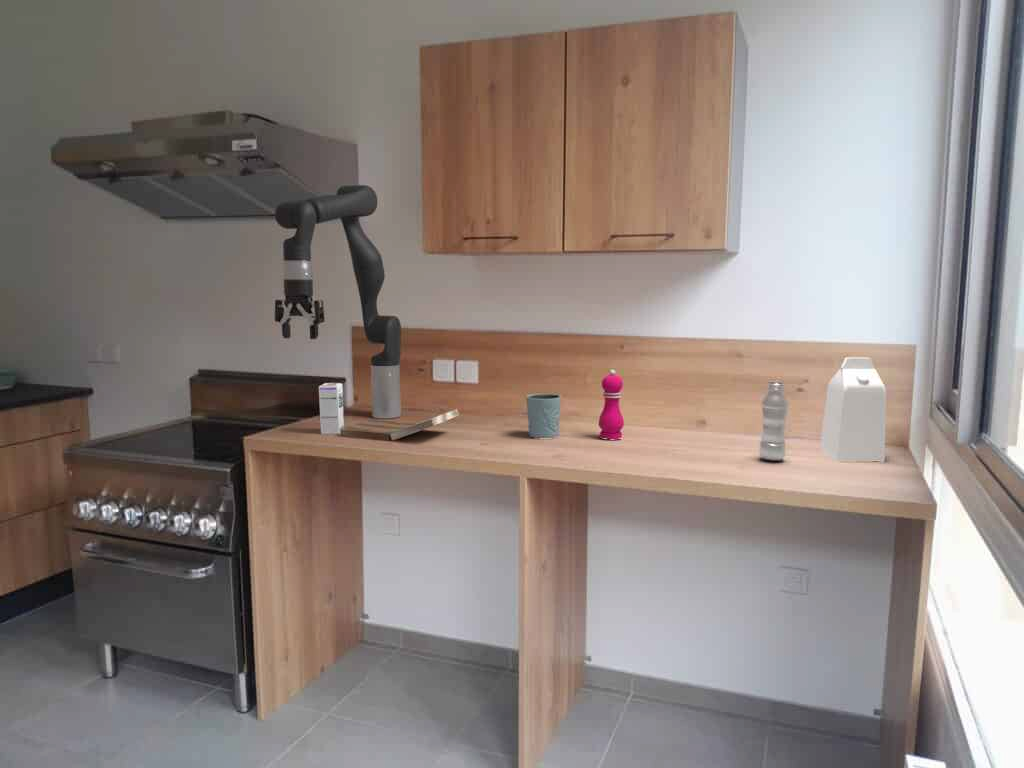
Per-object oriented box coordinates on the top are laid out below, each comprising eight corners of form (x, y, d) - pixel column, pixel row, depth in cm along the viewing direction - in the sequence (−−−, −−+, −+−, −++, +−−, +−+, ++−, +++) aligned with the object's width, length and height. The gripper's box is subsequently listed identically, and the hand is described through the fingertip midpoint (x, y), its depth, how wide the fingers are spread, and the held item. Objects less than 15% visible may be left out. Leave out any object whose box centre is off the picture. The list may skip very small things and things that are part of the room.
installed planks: (371, 425, 234) (371, 419, 234) (417, 429, 229) (417, 422, 228) (340, 436, 219) (340, 429, 218) (389, 440, 213) (388, 433, 213)
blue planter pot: (566, 438, 217) (567, 397, 216) (535, 441, 213) (536, 399, 211) (550, 431, 227) (550, 392, 225) (519, 434, 222) (520, 394, 220)
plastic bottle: (754, 460, 192) (758, 382, 190) (765, 455, 197) (769, 380, 194) (778, 464, 188) (783, 385, 185) (789, 460, 193) (794, 382, 190)
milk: (864, 451, 203) (871, 355, 199) (884, 462, 191) (892, 360, 188) (819, 451, 203) (825, 355, 199) (836, 461, 192) (843, 360, 188)
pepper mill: (604, 441, 213) (606, 371, 210) (594, 436, 220) (595, 368, 217) (627, 440, 216) (629, 370, 213) (616, 435, 222) (618, 367, 219)
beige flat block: (420, 429, 228) (418, 423, 228) (459, 415, 223) (457, 408, 223) (392, 440, 213) (389, 433, 213) (433, 425, 207) (431, 418, 207)
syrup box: (339, 434, 221) (338, 385, 219) (319, 434, 221) (318, 385, 219) (344, 430, 227) (343, 382, 225) (325, 430, 227) (323, 382, 225)
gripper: (328, 278, 202) (330, 338, 205) (284, 277, 207) (286, 336, 209) (312, 278, 195) (314, 340, 198) (266, 277, 200) (269, 338, 203)
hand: (300, 338), depth 204 cm, fingers open, 8 cm apart
